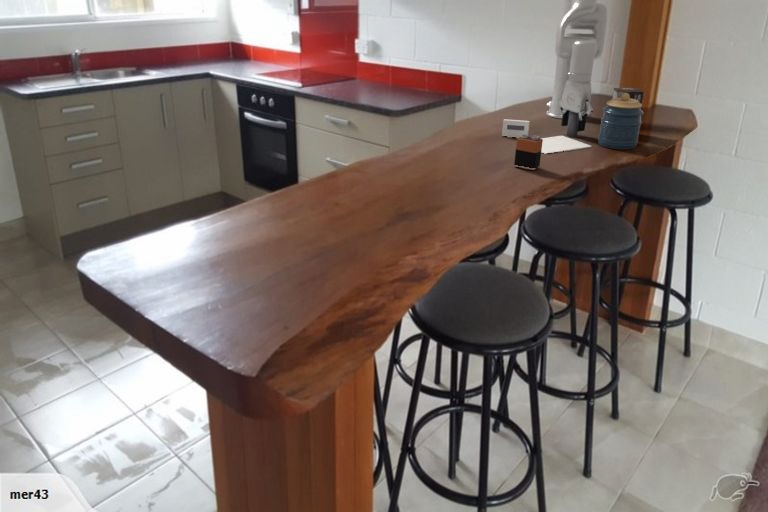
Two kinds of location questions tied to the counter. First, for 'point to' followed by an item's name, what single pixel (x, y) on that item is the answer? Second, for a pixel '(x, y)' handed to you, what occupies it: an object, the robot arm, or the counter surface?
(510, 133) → the word card
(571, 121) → the marker
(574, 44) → the robot arm
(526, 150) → the battery
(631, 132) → the canister
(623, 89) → the coffee box
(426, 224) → the counter surface
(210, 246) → the counter surface
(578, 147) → the paper
